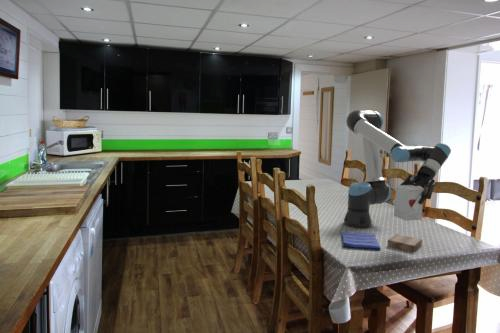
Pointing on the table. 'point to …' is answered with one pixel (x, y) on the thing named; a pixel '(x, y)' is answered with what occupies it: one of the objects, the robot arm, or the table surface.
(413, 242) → the walnut stand
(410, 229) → the table surface
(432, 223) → the table surface
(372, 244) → the dish towel
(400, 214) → the supplement box
